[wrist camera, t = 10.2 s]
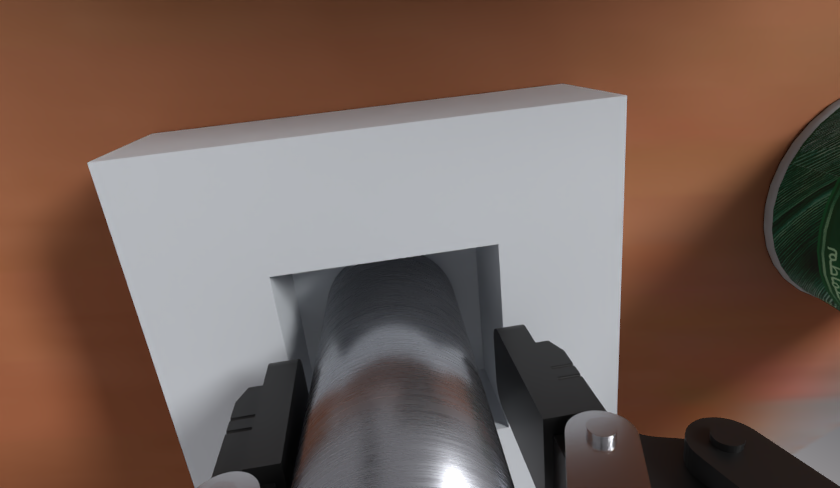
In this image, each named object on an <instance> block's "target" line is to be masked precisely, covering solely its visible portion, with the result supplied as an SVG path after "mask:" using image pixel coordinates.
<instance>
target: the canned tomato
mask: <svg viewBox="0 0 840 488" xmlns="http://www.w3.org/2000/svg"><path fill="white" fill-rule="evenodd" d="M764 234H765V240H766V247H767V250H768V252H769V255H770V257H771V260H772V262H773V264H774V266H775V267H776V268H777V270H778V271H779V272H780V274H781V275H782V276H783V278H784V279H786V280H787V281H788V282H790V283H791V284H792V285H793V286H795V287H796V288H797V289H799V290H801V291H803V292H805V293H807V294H810V295H812V296H814V297H817V298H819V299H821V300H823V301H824V302H826V303H828V304H830V305H831V306H833V307H835V308H836V309H838V310H839V311H840V99H839V100H837V101H836V102H834V103H833V104H831V105H830V106H829V107H827V108H826V109H825V110H824V111H823V112H822V113H820V114H819V115H818V116H817V117H816V118H815V119H813V120H812V121H811V122H810V123H809V124H808V126H807V127H806V128H805V129H804V130H803V131H802V133H801V134H800V135H799V136H798V137H797V138H796V139H795V141H794V142H793V143H792V145H791V147H790V148H789V150H788V151H787V153H786V154H785V156H784V158H783V159H782V161H781V162H780V164H779V167H778V169H777V171H776V174H775V176H774V178H773V180H772V183H771V185H770V189H769V193H768V197H767V201H766V205H765V215H764Z"/></svg>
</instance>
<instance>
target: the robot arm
mask: <svg viewBox="0 0 840 488" xmlns="http://www.w3.org/2000/svg"><path fill="white" fill-rule="evenodd" d="M494 352H495V368H496V383H497V390H498V395H499V399H500V403H501V406H502V408H503V411H504V413H505V415H506V418H507V420H508V423H509V425H510V427H511V430H512V432H513V434H514V437H515V439H516V442H517V444H518V446H519V449H520V451H521V454H522V456H523V458H524V461H525V463H526V465H527V468H528V470H529V473H530V475H531V477H532V480H533V482H534V485H535V487H536V488H840V486H838V485H837V484H835V483H834V482H832V481H831V480H829V479H828V478H826V477H825V476H823V475H821V474H820V473H819V472H817V471H815V470H814V469H813V468H811V467H809V466H808V465H806V464H805V463H803V462H802V461H800V460H799V459H797V458H796V457H794V456H793V455H791V454H790V453H788V452H787V451H785V450H784V449H782V448H781V447H779V446H778V445H776V444H775V443H773V442H772V441H770V440H769V439H767V438H766V437H764V436H763V435H761V434H760V433H758V432H757V431H755V430H753V429H752V428H750V427H748V426H746V425H744V424H742V423H739V422H736V421H733V420H729V419H724V418H715V417H712V418H702V419H699V420H696V421H694V422H692V423H691V424H690V425H689V426H688V427H687V429H686V432H685V439H678V438H663V437H652V436H646V435H641V434H639V433H638V431H637V429H636V428H635V427H634V425H633V424H632V423H630V422H629V421H628V420H626V419H625V418H623V417H621V416H619V415H617V414H614V413H611V412H607V411H606V410H605V408H604V407H603V405H602V404H601V403H600V401H599V400H598V398H597V397H596V395H595V394H594V393H593V391H592V390H591V388H590V387H589V385H588V384H587V383H586V381H585V380H584V378H583V377H582V376H581V375H580V373H579V371H578V370H577V368H576V367H575V366H573V363H572V361H571V360H570V358H569V357H568V355H567V354H566V352H565V351H564V350H563V349H561V348H559V347H558V346H556V345H555V344H553V343H551V342H550V341H542V342H535V341H534V339H533V338H532V336H531V335H530V333H529V331H528V330H527V328H526V327H525V325H523V324H521V325H515V326H509V327H502V328H496V329H494ZM308 396H309V393H308V388H307V384H306V379H305V374H304V370H303V365H302V362H301V360H300V359H294V360H288V361H281V362H275V363H269V365H268V367H267V371H266V375H265V379H264V383H263V385H262V386H255V387H249V388H248V389H247V390H246V391H245V392H244V393H243V394H242V396H241V397H240V398H239V399H238V400H237V401H236V402H235V405H234V408H233V411H232V414H231V418H230V419H231V421H229V424H228V427H227V430H226V434H225V436H224V439H223V443H222V446H221V449H220V452H219V455H218V458H217V461H216V464H215V468H214V471H213V474H212V477H211V479H209V480H207V481H205V482H204V483H202V484H201V485H200V486H198V487H197V488H291V483H292V478H293V473H294V468H295V463H296V458H297V453H298V447H299V442H300V437H301V432H302V427H303V422H304V417H305V412H306V407H307V401H308Z"/></svg>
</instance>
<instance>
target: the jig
mask: <svg viewBox="0 0 840 488" xmlns="http://www.w3.org/2000/svg"><path fill="white" fill-rule="evenodd" d="M626 114H627V95H622V94H617V93H611V92H606V91H600V90H595V89H590V88H584V87H579V86H573V85H568V84H556V85H548V86H540V87H531V88H523V89H515V90H507V91H499V92H490V93H482V94H474V95H466V96H458V97H449V98H441V99H433V100H425V101H416V102H408V103H400V104H392V105H384V106H375V107H367V108H359V109H351V110H342V111H334V112H326V113H318V114H310V115H301V116H293V117H285V118H277V119H269V120H260V121H252V122H244V123H236V124H227V125H219V126H211V127H203V128H195V129H186V130H178V131H170V132H162V133H153V134H150V135H148V136H145V137H143V138H141V139H139V140H137V141H134V142H132V143H130V144H128V145H125V146H123V147H121V148H119V149H117V150H114V151H112V152H110V153H108V154H105V155H103V156H101V157H99V158H97V159H94V160H92V161H90V162H88V167H89V170H90V173H91V176H92V179H93V182H94V185H95V188H96V191H97V194H98V197H99V200H100V203H101V206H102V209H103V212H104V215H105V218H106V221H107V224H108V227H109V230H110V233H111V236H112V239H113V242H114V245H115V248H116V251H117V254H118V257H119V260H120V263H121V266H122V269H123V272H124V275H125V278H126V281H127V285H128V288H129V291H130V294H131V297H132V300H133V303H134V306H135V309H136V312H137V315H138V318H139V321H140V324H141V327H142V330H143V333H144V336H145V339H146V342H147V345H148V348H149V351H150V354H151V357H152V360H153V363H154V366H155V369H156V372H157V375H158V378H159V381H160V384H161V387H162V390H163V393H164V396H165V400H166V403H167V406H168V409H169V412H170V415H171V418H172V421H173V424H174V427H175V430H176V433H177V436H178V439H179V442H180V445H181V448H182V451H183V454H184V457H185V460H186V463H187V466H188V469H189V472H190V475H191V478H192V481H193V484H194V487H195V488H197V487H198V486H200V485H201V484H202V483H204V482H205V481H207V480H209V479H211V477H212V474H213V471H214V468H215V464H216V461H217V458H218V455H219V452H220V449H221V446H222V443H223V439H224V436H225V434H226V430H227V427H228V424H229V421H231V419H230V418H231V414H232V411H233V408H234V405H235V402H236V401H237V400H238V399H239V398H240V397H241V396H242V394H243V393H244V392H245V391H246V390H247V389H248V388H249V387H255V386H262V385H263V383H264V379H265V375H266V371H267V367H268V365H269V363H275V362H281V361H288V360H294V359H300V360H301V362H302V365H303V370H304V374H305V379H306V384H307V388H308V393H309V391H310V386H311V381H312V376H313V371H314V366H315V361H316V355H317V350H318V345H319V340H320V335H321V330H322V325H323V320H324V314H325V309H326V304H327V299H328V294H329V291H330V288H331V285H332V283H333V282H334V280H335V278H336V277H337V275H338V274H339V272H340V271H341V270H342V269H343V268H344V267H345V266H350V265H357V264H364V263H371V262H378V261H385V260H392V259H399V258H406V257H413V256H420V255H424V256H426V257H427V258H429V259H431V260H432V261H433V262H435V263H436V264H437V265H438V266H439V267H440V268H441V269H442V270H443V271H444V272H445V274H446V275H447V277H448V278H449V280H450V282H451V285H452V287H453V290H454V294H455V297H456V300H457V303H458V306H459V310H460V313H461V316H462V319H463V323H464V326H465V329H466V332H467V335H468V339H469V342H470V345H471V348H472V352H473V355H474V358H475V361H476V365H477V368H478V371H479V374H480V377H481V381H482V384H483V387H484V390H485V394H486V397H487V400H488V403H489V407H490V410H491V413H492V416H493V419H494V423H495V426H496V429H497V432H498V436H499V439H500V442H501V445H502V448H503V452H504V455H505V458H506V461H507V465H508V468H509V471H510V474H511V478H512V481H513V484H514V487H515V488H536V487H535V485H534V482H533V480H532V477H531V475H530V473H529V470H528V468H527V465H526V463H525V461H524V458H523V456H522V454H521V451H520V449H519V446H518V444H517V442H516V439H515V437H514V434H513V432H512V430H511V427H510V425H509V423H508V420H507V418H506V415H505V413H504V411H503V408H502V406H501V403H500V399H499V395H498V390H497V383H496V368H495V352H494V329H496V328H502V327H509V326H515V325H521V324H523V325H525V327H526V328H527V330H528V331H529V333H530V335H531V336H532V338H533V339H534V341H535V342H542V341H550V342H551V343H553V344H555V345H556V346H558V347H559V348H561V349H563V350H564V351H565V352H566V354H567V355H568V357H569V358H570V360H571V361H572V363H573V366H575V367H576V368H577V370H578V371H579V373H580V375H581V376H582V377H583V378H584V380H585V381H586V383H587V384H588V385H589V387H590V388H591V390H592V391H593V393H594V394H595V395H596V397H597V398H598V400H599V401H600V403H601V404H602V405H603V407H604V408H605V410H606V411H607V412H611V413H614V414H617V398H618V366H619V335H620V303H621V272H622V240H623V209H624V177H625V145H626Z"/></svg>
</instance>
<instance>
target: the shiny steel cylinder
mask: <svg viewBox="0 0 840 488" xmlns="http://www.w3.org/2000/svg"><path fill="white" fill-rule="evenodd" d="M291 488H515V487H514V484H513V481H512V478H511V474H510V471H509V468H508V465H507V461H506V458H505V455H504V452H503V448H502V445H501V442H500V439H499V436H498V432H497V429H496V426H495V423H494V419H493V416H492V413H491V410H490V407H489V403H488V400H487V397H486V394H485V390H484V387H483V384H482V381H481V377H480V374H479V371H478V368H477V365H476V361H475V358H474V355H473V352H472V348H471V345H470V342H469V339H468V335H467V332H466V329H465V326H464V323H463V319H462V316H461V313H460V310H459V306H458V303H457V300H456V297H455V294H454V290H453V287H452V285H451V282H450V280H449V278H448V277H447V275H446V274H445V272H444V271H443V270H442V269H441V268H440V267H439V266H438V265H437V264H436V263H435V262H433V261H432V260H431V259H429V258H427V257H426V256H424V255H420V256H413V257H406V258H399V259H392V260H385V261H378V262H371V263H364V264H357V265H350V266H345V267H344V268H343V269H342V270H341V271H340V272H339V274H338V275H337V277H336V278H335V280H334V282H333V283H332V285H331V288H330V291H329V294H328V299H327V304H326V309H325V314H324V320H323V325H322V330H321V335H320V340H319V345H318V350H317V355H316V361H315V366H314V371H313V376H312V381H311V386H310V391H309V396H308V401H307V407H306V412H305V417H304V422H303V427H302V432H301V437H300V442H299V447H298V453H297V458H296V463H295V468H294V473H293V478H292V483H291Z"/></svg>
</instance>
